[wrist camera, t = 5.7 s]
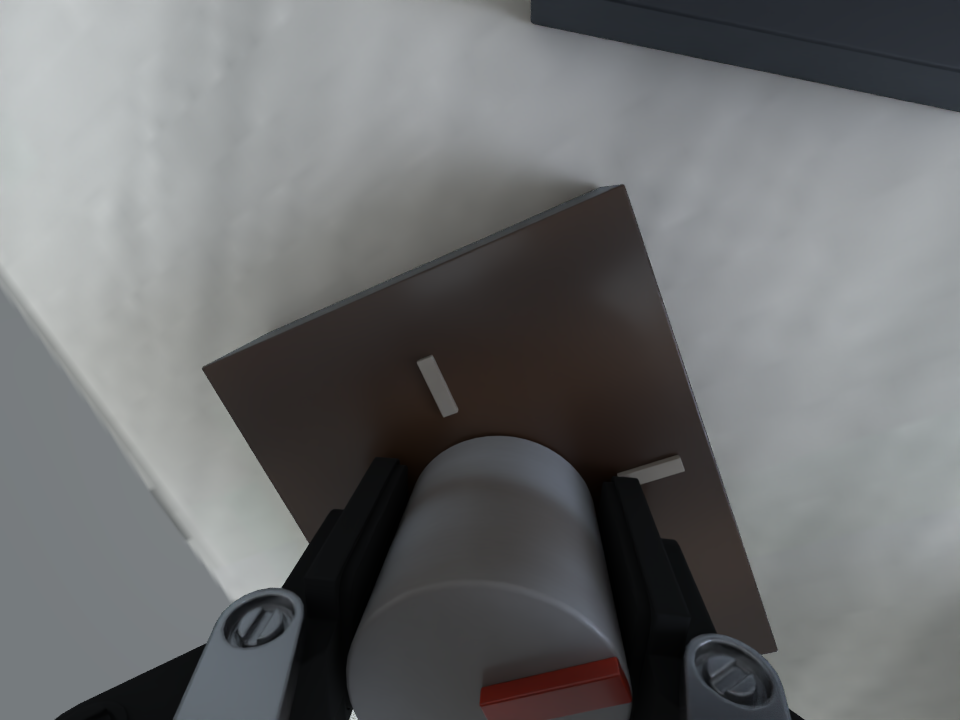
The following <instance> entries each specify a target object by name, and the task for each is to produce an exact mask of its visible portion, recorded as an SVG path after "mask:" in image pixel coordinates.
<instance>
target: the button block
mask: <svg viewBox="0 0 960 720" xmlns="http://www.w3.org/2000/svg"><path fill="white" fill-rule="evenodd" d="M531 22H532V23H533V24H538V25H542V26H547V27H552V28H557V29H562V30H567V31H571V32H576V33H581V34H586V35H591V36H596V37H600V38H605V39H610V40H615V41H620V42H625V43H629V44H634V45H639V46H644V47H649V48H654V49H658V50H663V51H668V52H673V53H678V54H683V55H688V56H692V57H697V58H702V59H707V60H712V61H717V62H721V63H726V64H731V65H736V66H741V67H746V68H750V69H755V70H760V71H765V72H770V73H775V74H779V75H784V76H789V77H794V78H799V79H804V80H808V81H813V82H818V83H823V84H828V85H833V86H838V87H842V88H847V89H852V90H857V91H862V92H867V93H871V94H876V95H881V96H886V97H891V98H896V99H900V100H905V101H910V102H915V103H920V104H925V105H929V106H934V107H939V108H944V109H949V110H954V111H958V112H960V0H531Z"/></svg>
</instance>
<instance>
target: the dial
mask: <svg viewBox="0 0 960 720" xmlns="http://www.w3.org/2000/svg"><path fill="white" fill-rule="evenodd" d="M346 679H347V690H348V694H349V699H350V702H351V704H352V707H353V710H354V712H355V714H356V716H357V718H358V720H629V719H630V714H631V709H632V686H631V680H630V675H629V670H628V665H627V660H626V655H625V651H624V646H623V641H622V636H621V631H620V627H619V622H618V617H617V612H616V607H615V603H614V598H613V593H612V588H611V583H610V579H609V574H608V569H607V564H606V559H605V555H604V550H603V545H602V540H601V535H600V531H599V526H598V521H597V516H596V511H595V507H594V502H593V499H592V496H591V493H590V491H589V489H588V487H587V485H586V483H585V481H584V480H583V479H582V477H581V476H580V474H579V473H578V472H577V471H576V470H575V469H574V467H573V466H572V465H571V464H570V463H569V462H567V461H566V460H565V459H564V458H562V457H561V456H560V455H558V454H557V453H555V452H554V451H552V450H550V449H549V448H547V447H544V446H542V445H540V444H538V443H535V442H532V441H529V440H526V439H521V438H517V437H510V436H486V437H479V438H474V439H470V440H467V441H464V442H461V443H459V444H456V445H454V446H452V447H450V448H448V449H447V450H445V451H443V452H442V453H440V454H439V455H438V456H437V457H435V458H434V459H433V460H432V461H431V462H430V463H429V464H428V465H427V466H426V467H425V469H424V470H423V471H422V473H421V474H420V476H419V478H418V480H417V482H416V484H415V486H414V488H413V491H412V493H411V496H410V498H409V501H408V503H407V506H406V508H405V511H404V513H403V516H402V518H401V521H400V523H399V526H398V528H397V531H396V533H395V536H394V538H393V541H392V543H391V546H390V548H389V551H388V553H387V556H386V558H385V561H384V563H383V566H382V568H381V571H380V573H379V576H378V578H377V581H376V583H375V586H374V588H373V591H372V593H371V596H370V598H369V601H368V603H367V606H366V608H365V611H364V613H363V616H362V618H361V621H360V623H359V626H358V628H357V631H356V633H355V636H354V638H353V641H352V643H351V647H350V650H349V653H348V657H347V665H346Z"/></svg>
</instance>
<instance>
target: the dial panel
mask: <svg viewBox="0 0 960 720" xmlns="http://www.w3.org/2000/svg"><path fill="white" fill-rule="evenodd" d="M202 370H203V372H204V373H205V375H206V376H207V378H208V380H209V381H210V383H211V385H212V386H213V388H214V389H215V391H216V393H217V394H218V396H219V398H220V399H221V401H222V402H223V404H224V406H225V407H226V409H227V411H228V412H229V414H230V415H231V417H232V419H233V420H234V422H235V424H236V425H237V427H238V428H239V430H240V432H241V433H242V435H243V437H244V438H245V440H246V441H247V443H248V445H249V446H250V448H251V450H252V451H253V453H254V454H255V456H256V458H257V459H258V461H259V463H260V464H261V466H262V467H263V469H264V471H265V472H266V474H267V476H268V477H269V479H270V480H271V482H272V484H273V485H274V487H275V489H276V490H277V492H278V493H279V495H280V497H281V498H282V500H283V502H284V503H285V505H286V506H287V508H288V510H289V511H290V513H291V515H292V516H293V518H294V519H295V521H296V523H297V524H298V526H299V528H300V529H301V531H302V532H303V534H304V536H305V537H306V539H307V541H308V542H309V544H310V542H311V540H312V539H313V537H314V536H315V534H316V533H317V531H318V529H319V528H320V526H321V525H322V523H323V522H324V520H325V518H326V517H327V515H328V514H329V513H330V511H331V510H333V509H344V508H345V507H346V505H347V503H348V502H349V500H350V498H351V497H352V495H353V493H354V492H355V490H356V488H357V487H358V485H359V483H360V482H361V480H362V478H363V476H364V475H365V473H366V471H367V470H368V468H369V466H370V465H371V463H372V461H373V460H374V458H375V457H385V458H397V459H399V460H400V465H406V466H407V468H408V501H409V498H410V496H411V493H412V491H413V488H414V486H415V484H416V482H417V480H418V478H419V476H420V474H421V473H422V471H423V470H424V469H425V467H426V466H427V465H428V464H429V463H430V462H431V461H432V460H433V459H434V458H435V457H437V456H438V455H439V454H440V453H442V452H443V451H445V450H447V449H448V448H450V447H452V446H454V445H456V444H459V443H461V442H464V441H467V440H470V439H474V438H479V437H486V436H510V437H517V438H521V439H526V440H529V441H532V442H535V443H538V444H540V445H542V446H544V447H547V448H549V449H550V450H552V451H554V452H555V453H557V454H558V455H560V456H561V457H562V458H564V459H565V460H566V461H567V462H569V463H570V464H571V465H572V466H573V467H574V469H575V470H576V471H577V472H578V473H579V474H580V476H581V477H582V479H583V480H584V481H585V483H586V485H587V487H588V489H589V491H590V493H591V496H592V499H593V502H594V507H595V511H596V516H597V519H598V512H599V504H600V497H601V489H602V484H603V482H611V478H612V477H613V476H618V477H630V478H638V480H639V482H640V485H641V488H642V490H643V493H644V495H645V498H646V501H647V503H648V506H649V508H650V511H651V514H652V516H653V519H654V521H655V524H656V527H657V529H658V532H659V535H660V537H661V538H664V539H674V540H676V541H677V542H678V544H679V546H680V548H681V550H682V552H683V555H684V557H685V559H686V562H687V564H688V566H689V569H690V571H691V573H692V576H693V578H694V580H695V583H696V585H697V587H698V590H699V592H700V594H701V597H702V599H703V601H704V604H705V606H706V608H707V611H708V613H709V615H710V618H711V620H712V622H713V625H714V627H715V629H716V632H717V634H720V635H726V636H729V637H731V638H734V639H737V640H739V641H742V642H743V643H745V644H746V645H748V646H750V647H751V648H753V649H755V650H756V651H757V652H758V653H759V654H760V655H763V654H768V653H773V652H777V651H778V649H777V646H776V643H775V640H774V636H773V633H772V630H771V627H770V624H769V621H768V618H767V615H766V612H765V609H764V606H763V603H762V600H761V597H760V594H759V591H758V588H757V585H756V582H755V579H754V576H753V573H752V570H751V567H750V564H749V561H748V558H747V555H746V552H745V549H744V546H743V543H742V539H741V536H740V533H739V530H738V527H737V524H736V521H735V518H734V515H733V512H732V509H731V506H730V503H729V500H728V497H727V494H726V491H725V488H724V485H723V482H722V479H721V476H720V473H719V470H718V467H717V464H716V461H715V458H714V455H713V452H712V449H711V446H710V442H709V439H708V436H707V433H706V430H705V427H704V424H703V421H702V418H701V415H700V412H699V409H698V406H697V403H696V400H695V397H694V394H693V391H692V388H691V385H690V382H689V379H688V376H687V373H686V370H685V367H684V364H683V361H682V358H681V355H680V352H679V349H678V345H677V342H676V339H675V336H674V333H673V330H672V327H671V324H670V321H669V318H668V315H667V312H666V309H665V306H664V303H663V300H662V297H661V294H660V291H659V288H658V285H657V282H656V279H655V276H654V273H653V270H652V267H651V264H650V261H649V258H648V255H647V252H646V248H645V245H644V242H643V239H642V236H641V233H640V230H639V227H638V224H637V221H636V218H635V215H634V212H633V209H632V206H631V203H630V200H629V197H628V194H627V191H626V188H625V186H624V184H620V185H613V186H605V187H600V188H597V189H595V190H593V191H590V192H588V193H586V194H584V195H581V196H579V197H577V198H574V199H572V200H570V201H568V202H565V203H563V204H561V205H559V206H556V207H554V208H552V209H549V210H547V211H545V212H543V213H540V214H538V215H536V216H533V217H531V218H529V219H527V220H524V221H522V222H520V223H517V224H515V225H513V226H511V227H508V228H506V229H504V230H502V231H499V232H497V233H495V234H492V235H490V236H488V237H486V238H483V239H481V240H479V241H476V242H474V243H472V244H470V245H467V246H465V247H463V248H461V249H458V250H456V251H454V252H451V253H449V254H447V255H445V256H442V257H440V258H438V259H435V260H433V261H431V262H429V263H426V264H424V265H422V266H419V267H417V268H415V269H413V270H410V271H408V272H406V273H404V274H401V275H399V276H397V277H394V278H392V279H390V280H388V281H385V282H383V283H381V284H378V285H376V286H374V287H372V288H369V289H367V290H365V291H363V292H360V293H358V294H356V295H353V296H351V297H349V298H347V299H344V300H342V301H340V302H337V303H335V304H333V305H331V306H328V307H326V308H324V309H321V310H319V311H317V312H315V313H312V314H310V315H308V316H306V317H303V318H301V319H299V320H296V321H294V322H292V323H290V324H287V325H285V326H283V327H280V328H278V329H276V330H274V331H271V332H269V333H267V334H265V335H263V336H261V337H259V338H257V339H255V340H253V341H251V342H250V343H248V344H246V345H244V346H242V347H240V348H238V349H236V350H234V351H232V352H230V353H228V354H226V355H225V356H223V357H221V358H219V359H217V360H215V361H213V362H211V363H209V364H207V365H205V366H203V368H202Z"/></svg>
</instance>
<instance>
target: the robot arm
mask: <svg viewBox="0 0 960 720" xmlns="http://www.w3.org/2000/svg"><path fill="white" fill-rule="evenodd" d="M407 503H408V468H407V466H406V465H400V460H399V459H397V458H385V457H375V458H374V460H373V461H372V463H371V465H370V466H369V468H368V470H367V471H366V473H365V475H364V476H363V478H362V480H361V482H360V483H359V485H358V487H357V488H356V490H355V492H354V493H353V495H352V497H351V498H350V500H349V502H348V503H347V505H346V507H345V508H344V509H333V510H331V511H330V513H329V514H328V515H327V517H326V518H325V520H324V522H323V523H322V525H321V526H320V528H319V529H318V531H317V533H316V534H315V536H314V537H313V539H312V540H311V542H310V544H309V545H308V547H307V548H306V550H305V551H304V553H303V555H302V556H301V558H300V559H299V561H298V563H297V564H296V566H295V567H294V569H293V570H292V572H291V574H290V575H289V577H288V578H287V580H286V581H285V583H284V585H283V586H282V588H267V589H261V590H257V591H254V592H252V593H249V594H247V595H244V596H243V597H241V598H239V599H238V600H236V601H235V602H233V603H232V604H231V605H230V606H229V607H227V608H226V609H225V610H224V611H223V612H222V614H221V616H220V617H219V619H218V620H217V622H216V623H215V626H214V628H213V630H212V633H211V635H210V637H209V639H208V641H207V643H206V644H204V645H202V646H200V647H198V648H196V649H193V650H191V651H189V652H187V653H185V654H183V655H181V656H179V657H177V658H174V659H173V660H170V661H168V662H166V663H164V664H162V665H160V666H158V667H156V668H154V669H152V670H149V671H147V672H145V673H143V674H141V675H139V676H137V677H135V678H133V679H131V680H128V681H126V682H124V683H122V684H120V685H118V686H116V687H114V688H112V689H110V690H108V691H105V692H103V693H101V694H99V695H97V696H95V697H93V698H91V699H89V700H87V701H84V702H82V703H80V704H78V705H77V706H75V707H73V708H71V709H70V710H68V711H66V712H65V713H63V714H61V715H60V716H59V717H58V718H56V719H55V720H349V719H350V716H351V713H352V710H353V707H352V704H351V702H350V699H349V694H348V690H347V679H346V665H347V657H348V653H349V650H350V647H351V643H352V641H353V638H354V636H355V633H356V631H357V628H358V626H359V623H360V621H361V618H362V616H363V613H364V611H365V608H366V606H367V603H368V601H369V598H370V596H371V593H372V591H373V588H374V586H375V583H376V581H377V578H378V576H379V573H380V571H381V568H382V566H383V563H384V561H385V558H386V556H387V553H388V551H389V548H390V546H391V543H392V541H393V538H394V536H395V533H396V531H397V528H398V526H399V523H400V521H401V518H402V516H403V513H404V511H405V508H406V506H407ZM597 521H598V526H599V531H600V535H601V540H602V545H603V550H604V555H605V559H606V564H607V569H608V574H609V579H610V583H611V588H612V593H613V598H614V603H615V607H616V612H617V617H618V622H619V627H620V631H621V636H622V641H623V646H624V651H625V655H626V660H627V665H628V670H629V675H630V680H631V686H632V709H631V714H630V719H629V720H804V719H803V718H802V717H800V716H799V715H797V714H796V713H795V712H793V711H792V710H790V709H789V708H788V704H787V700H786V696H785V693H784V689H783V685H782V683H781V681H780V678H779V676H778V674H777V672H776V671H775V670H774V668H773V667H772V666H771V665H770V663H769V662H768V661H767V660H766V659H765V658H764V657H763V656H762V655H760V654H759V653H758V652H757V651H756V650H755V649H753V648H751V647H750V646H748V645H746V644H745V643H743V642H742V641H739V640H737V639H734V638H731V637H729V636H726V635H720V634H717V632H716V629H715V627H714V625H713V622H712V620H711V618H710V615H709V613H708V611H707V608H706V606H705V604H704V601H703V599H702V597H701V594H700V592H699V590H698V587H697V585H696V583H695V580H694V578H693V576H692V573H691V571H690V569H689V566H688V564H687V562H686V559H685V557H684V555H683V552H682V550H681V548H680V546H679V544H678V542H677V541H676V540H674V539H664V538H661V537H660V535H659V532H658V529H657V527H656V524H655V521H654V519H653V516H652V514H651V511H650V508H649V506H648V503H647V501H646V498H645V495H644V493H643V490H642V488H641V485H640V482H639V480H638V478H630V477H618V476H613V477H612V478H611V482H603V484H602V489H601V497H600V504H599V512H598V519H597Z"/></svg>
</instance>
